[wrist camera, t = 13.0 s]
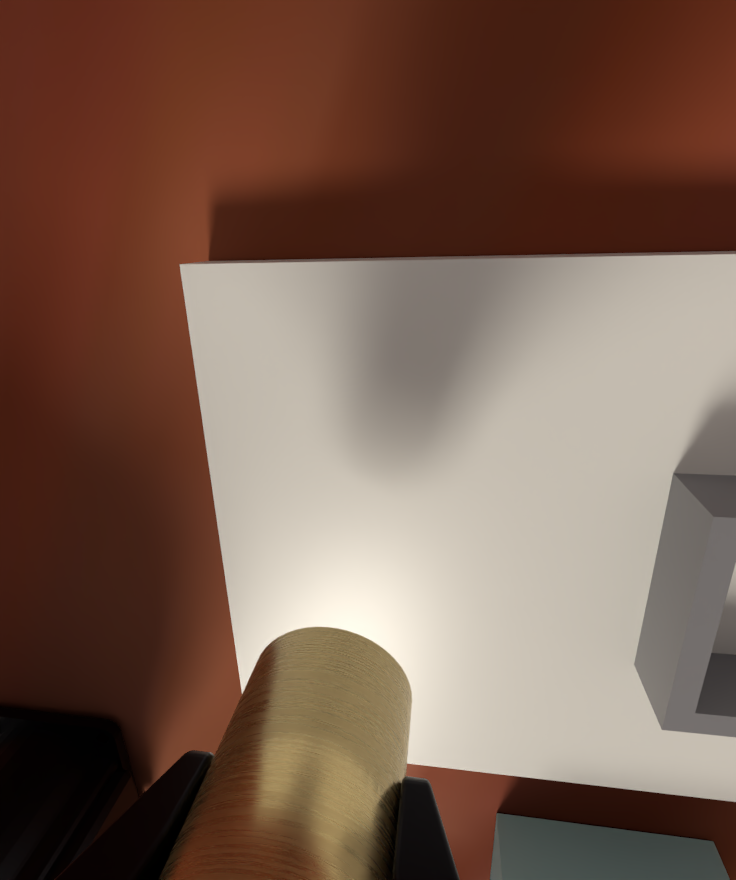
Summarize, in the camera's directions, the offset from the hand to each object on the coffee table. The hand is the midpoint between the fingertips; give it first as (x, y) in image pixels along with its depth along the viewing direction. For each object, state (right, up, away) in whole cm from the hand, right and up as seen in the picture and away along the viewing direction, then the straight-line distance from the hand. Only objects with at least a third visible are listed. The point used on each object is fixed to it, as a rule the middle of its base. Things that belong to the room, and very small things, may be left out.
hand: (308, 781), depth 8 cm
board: (+7, +3, +6) cm, 10 cm away
